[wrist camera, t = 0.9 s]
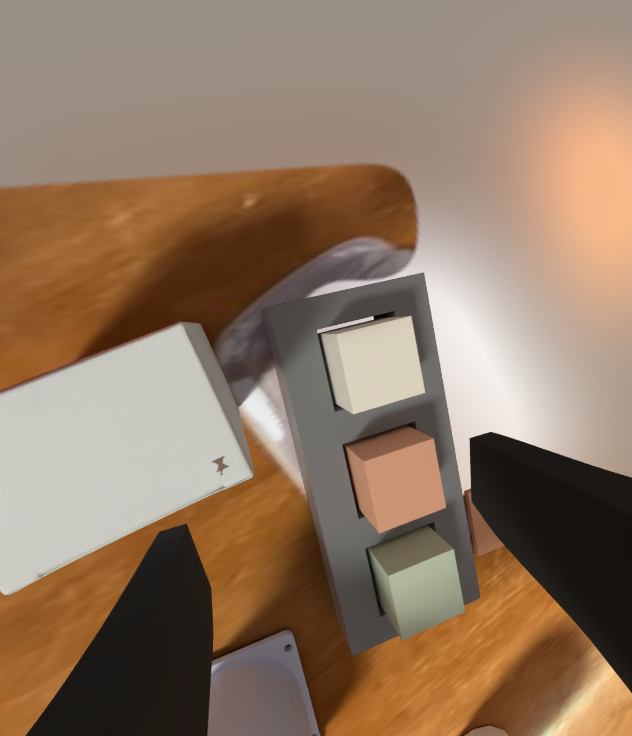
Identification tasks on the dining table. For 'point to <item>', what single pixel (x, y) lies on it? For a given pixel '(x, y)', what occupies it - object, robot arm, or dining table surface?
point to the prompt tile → (480, 530)
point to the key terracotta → (394, 476)
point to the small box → (112, 448)
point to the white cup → (487, 732)
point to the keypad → (338, 426)
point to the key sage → (416, 580)
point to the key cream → (372, 363)
